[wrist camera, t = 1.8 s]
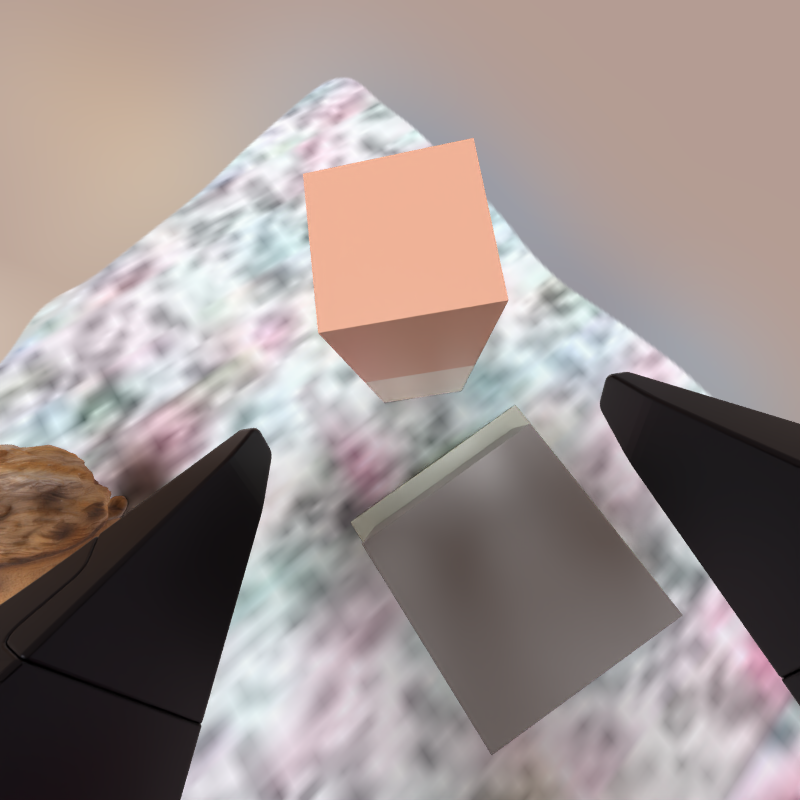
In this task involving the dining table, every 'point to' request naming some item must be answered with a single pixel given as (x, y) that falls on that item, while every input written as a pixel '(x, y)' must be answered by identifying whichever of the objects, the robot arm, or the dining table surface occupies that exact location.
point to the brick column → (405, 267)
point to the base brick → (511, 577)
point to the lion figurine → (47, 512)
